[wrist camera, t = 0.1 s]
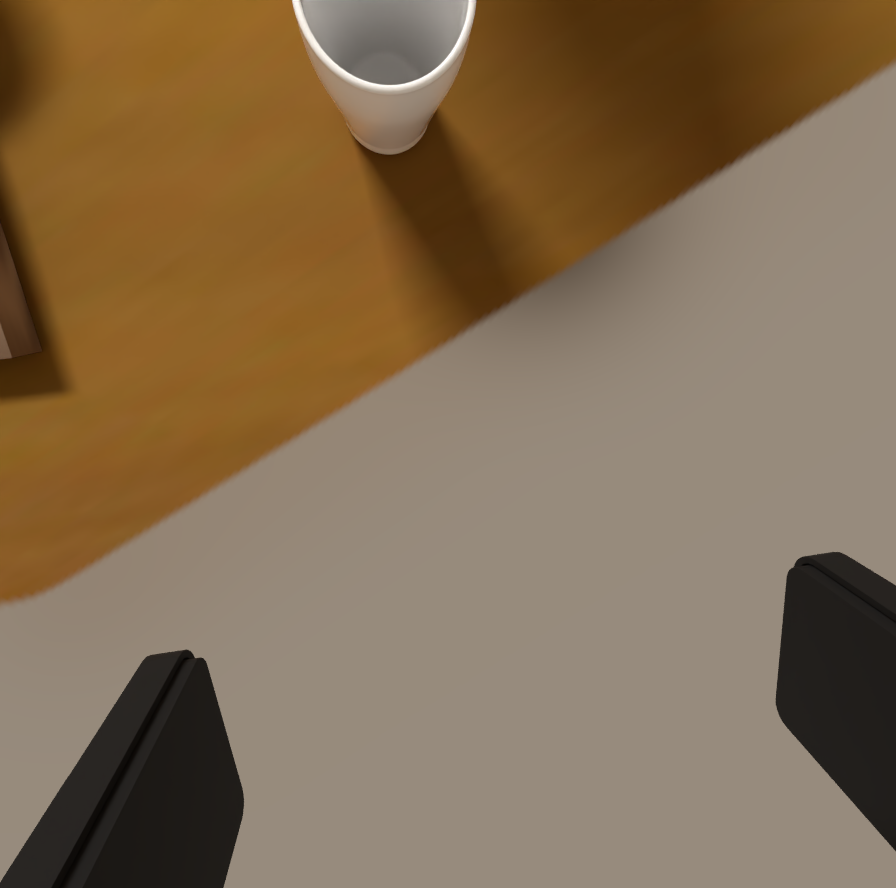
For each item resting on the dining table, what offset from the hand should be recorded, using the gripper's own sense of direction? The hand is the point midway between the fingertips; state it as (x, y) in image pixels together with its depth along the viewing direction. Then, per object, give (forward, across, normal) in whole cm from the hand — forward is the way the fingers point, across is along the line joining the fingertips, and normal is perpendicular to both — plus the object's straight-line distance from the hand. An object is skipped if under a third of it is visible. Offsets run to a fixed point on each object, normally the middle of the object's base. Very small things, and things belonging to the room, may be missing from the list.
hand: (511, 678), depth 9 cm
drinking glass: (+31, 0, -16) cm, 35 cm away
